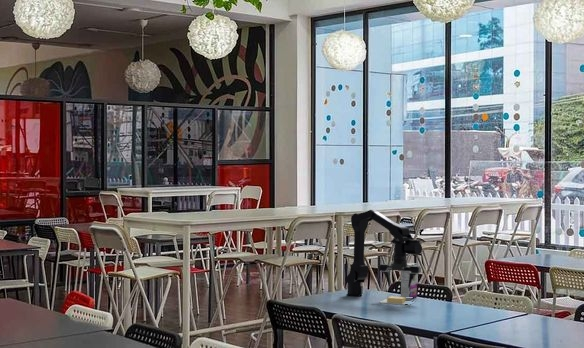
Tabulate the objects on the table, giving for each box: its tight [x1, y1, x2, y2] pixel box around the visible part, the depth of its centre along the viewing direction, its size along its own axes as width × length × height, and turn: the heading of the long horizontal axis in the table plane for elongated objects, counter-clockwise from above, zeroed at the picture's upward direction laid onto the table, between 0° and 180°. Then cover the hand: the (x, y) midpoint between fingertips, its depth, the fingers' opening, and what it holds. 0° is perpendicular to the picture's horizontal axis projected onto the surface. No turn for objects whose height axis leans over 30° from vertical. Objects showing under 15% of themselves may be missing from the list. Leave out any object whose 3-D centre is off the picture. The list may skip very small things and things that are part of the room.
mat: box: [379, 296, 412, 306], centre depth 399 cm, size 14×14×2 cm
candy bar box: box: [400, 262, 418, 298], centre depth 418 cm, size 11×5×16 cm, turn 154°
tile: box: [386, 295, 406, 303], centre depth 397 cm, size 7×2×7 cm
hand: (399, 287), depth 401 cm, fingers open, 9 cm apart
